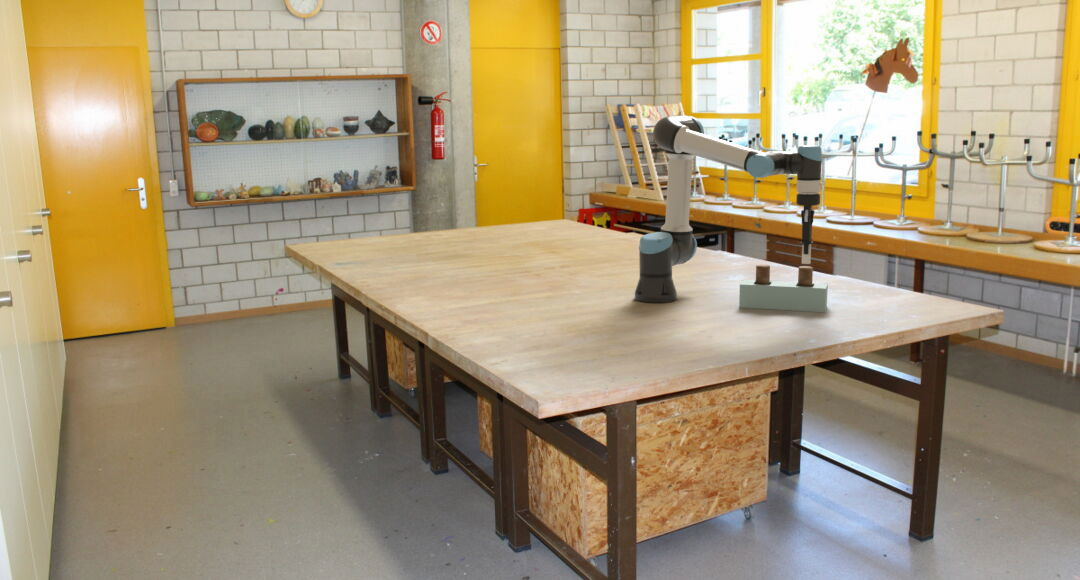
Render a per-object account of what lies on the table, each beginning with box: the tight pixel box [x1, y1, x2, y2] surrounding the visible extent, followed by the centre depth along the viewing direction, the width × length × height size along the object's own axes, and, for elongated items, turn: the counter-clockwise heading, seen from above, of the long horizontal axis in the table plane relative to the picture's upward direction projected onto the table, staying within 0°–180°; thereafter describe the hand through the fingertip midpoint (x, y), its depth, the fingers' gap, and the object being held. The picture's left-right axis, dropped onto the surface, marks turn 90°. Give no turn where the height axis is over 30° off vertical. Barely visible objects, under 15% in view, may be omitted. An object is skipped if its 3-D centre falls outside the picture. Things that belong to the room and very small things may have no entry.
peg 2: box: [797, 265, 814, 287], centre depth 300 cm, size 5×5×8 cm
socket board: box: [738, 279, 829, 313], centre depth 304 cm, size 28×9×8 cm, turn 69°
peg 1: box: [755, 264, 771, 285], centre depth 305 cm, size 5×5×8 cm
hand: (805, 263), depth 299 cm, fingers closed
